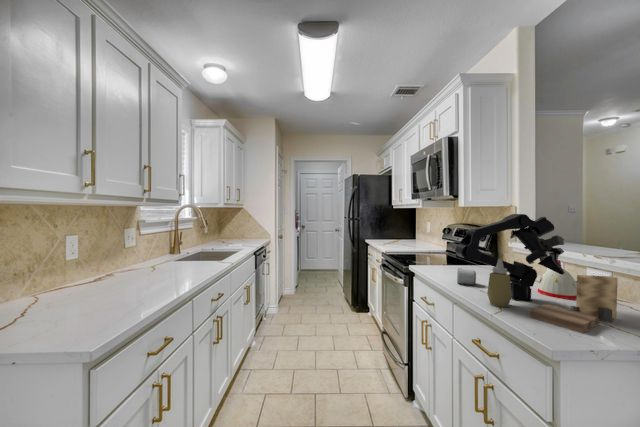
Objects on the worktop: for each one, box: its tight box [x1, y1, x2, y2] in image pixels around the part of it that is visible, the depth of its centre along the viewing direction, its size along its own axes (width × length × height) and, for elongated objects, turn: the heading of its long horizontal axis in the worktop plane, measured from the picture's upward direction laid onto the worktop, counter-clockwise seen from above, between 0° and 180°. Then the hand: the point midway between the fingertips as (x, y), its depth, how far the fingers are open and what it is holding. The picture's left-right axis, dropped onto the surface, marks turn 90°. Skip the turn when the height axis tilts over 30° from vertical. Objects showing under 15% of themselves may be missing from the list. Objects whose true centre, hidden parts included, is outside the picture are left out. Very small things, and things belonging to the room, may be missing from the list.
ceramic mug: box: [456, 267, 477, 286], centre depth 140 cm, size 11×8×8 cm
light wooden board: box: [569, 274, 619, 319], centre depth 97 cm, size 13×2×14 cm, turn 83°
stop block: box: [599, 307, 613, 323], centre depth 95 cm, size 2×2×4 cm
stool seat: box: [529, 303, 600, 334], centre depth 94 cm, size 13×14×2 cm
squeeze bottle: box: [486, 258, 512, 308], centre depth 109 cm, size 8×8×18 cm
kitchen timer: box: [537, 259, 577, 300], centre depth 123 cm, size 14×14×15 cm
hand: (563, 273), depth 105 cm, fingers closed
